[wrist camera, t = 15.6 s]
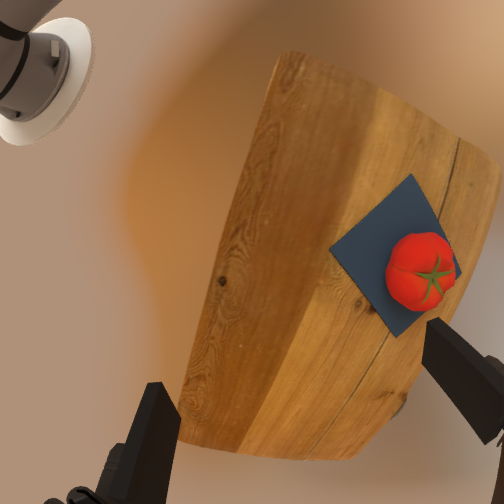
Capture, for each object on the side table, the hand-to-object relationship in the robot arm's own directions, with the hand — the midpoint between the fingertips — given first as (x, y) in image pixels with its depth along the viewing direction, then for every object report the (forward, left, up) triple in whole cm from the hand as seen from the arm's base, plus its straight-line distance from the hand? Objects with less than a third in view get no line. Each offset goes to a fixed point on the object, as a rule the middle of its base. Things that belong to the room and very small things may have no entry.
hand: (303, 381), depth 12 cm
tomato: (+16, +14, -24) cm, 33 cm away
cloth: (+16, +14, -25) cm, 33 cm away
